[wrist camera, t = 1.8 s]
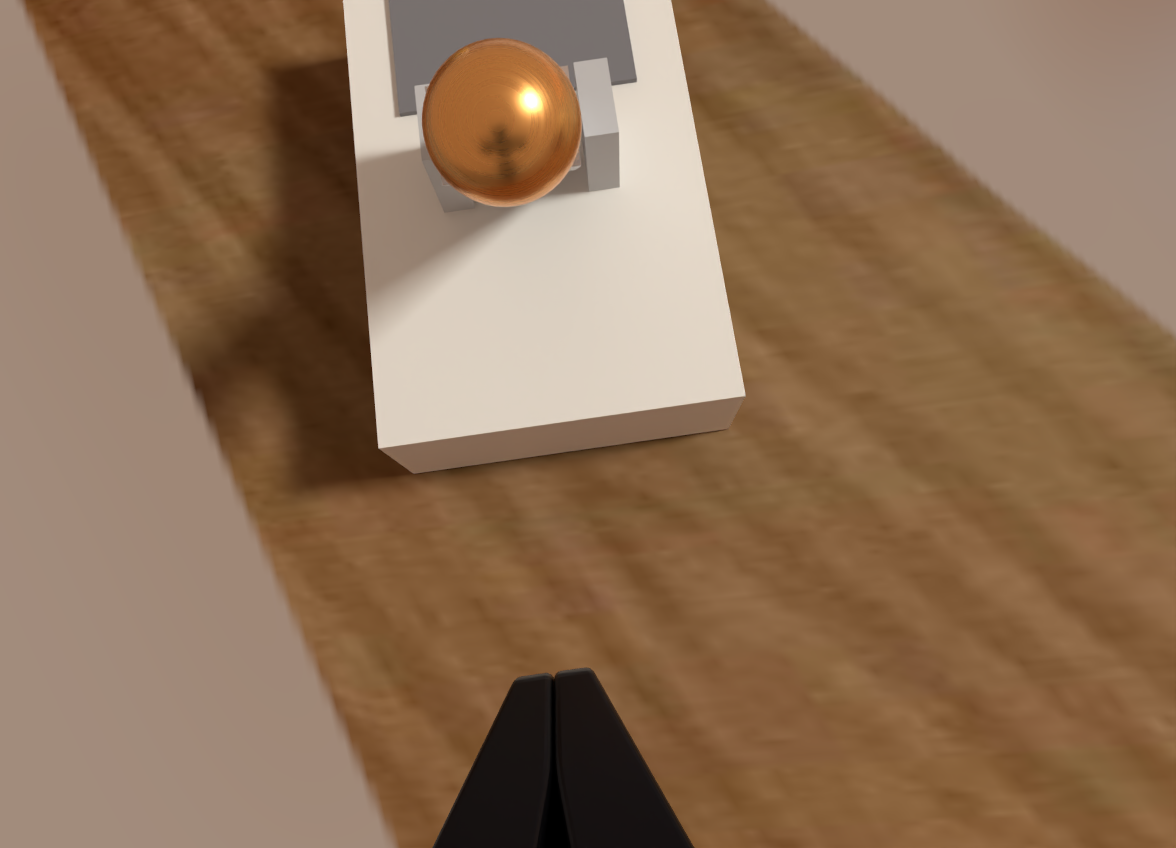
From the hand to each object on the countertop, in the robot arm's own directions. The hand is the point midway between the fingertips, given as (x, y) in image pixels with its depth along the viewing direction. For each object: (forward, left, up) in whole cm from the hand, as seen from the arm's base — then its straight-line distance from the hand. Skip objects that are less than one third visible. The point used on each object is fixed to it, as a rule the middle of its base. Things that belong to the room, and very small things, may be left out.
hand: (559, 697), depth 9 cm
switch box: (+11, -6, -14) cm, 19 cm away
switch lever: (+11, -6, -9) cm, 16 cm away
